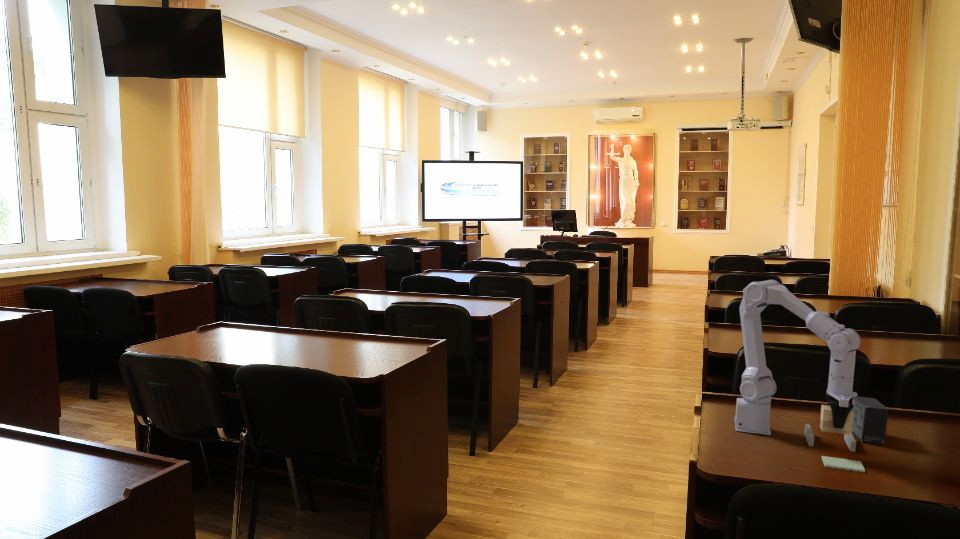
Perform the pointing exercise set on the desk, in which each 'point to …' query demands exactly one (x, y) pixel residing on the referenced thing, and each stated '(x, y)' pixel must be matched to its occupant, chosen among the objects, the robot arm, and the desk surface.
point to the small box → (869, 420)
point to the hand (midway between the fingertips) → (836, 425)
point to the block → (827, 421)
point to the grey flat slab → (848, 438)
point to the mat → (843, 464)
